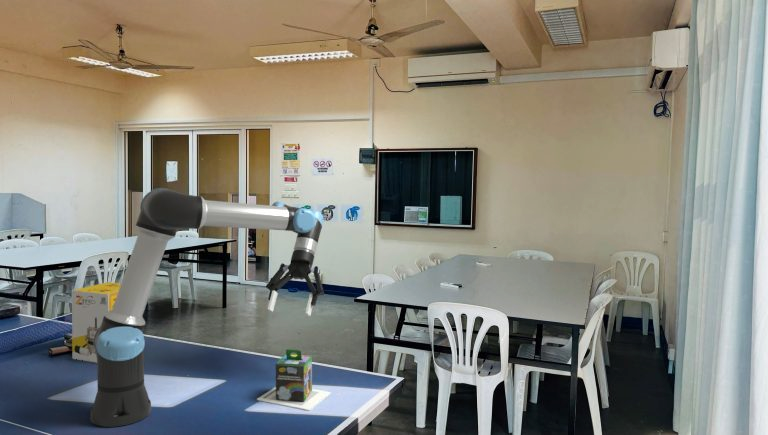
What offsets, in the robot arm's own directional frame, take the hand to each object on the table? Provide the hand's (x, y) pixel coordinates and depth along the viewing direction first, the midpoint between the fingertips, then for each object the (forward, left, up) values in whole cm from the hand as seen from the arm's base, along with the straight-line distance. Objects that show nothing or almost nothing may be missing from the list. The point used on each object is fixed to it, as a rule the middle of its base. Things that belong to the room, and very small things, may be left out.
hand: (288, 312), depth 175 cm
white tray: (-10, -8, -23) cm, 26 cm away
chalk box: (-10, -8, -23) cm, 26 cm away
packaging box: (-6, +73, -23) cm, 76 cm away
